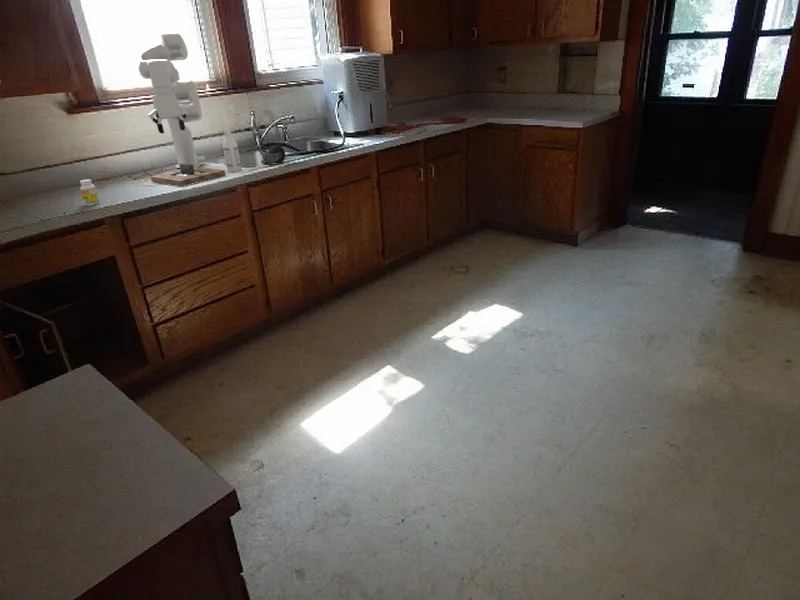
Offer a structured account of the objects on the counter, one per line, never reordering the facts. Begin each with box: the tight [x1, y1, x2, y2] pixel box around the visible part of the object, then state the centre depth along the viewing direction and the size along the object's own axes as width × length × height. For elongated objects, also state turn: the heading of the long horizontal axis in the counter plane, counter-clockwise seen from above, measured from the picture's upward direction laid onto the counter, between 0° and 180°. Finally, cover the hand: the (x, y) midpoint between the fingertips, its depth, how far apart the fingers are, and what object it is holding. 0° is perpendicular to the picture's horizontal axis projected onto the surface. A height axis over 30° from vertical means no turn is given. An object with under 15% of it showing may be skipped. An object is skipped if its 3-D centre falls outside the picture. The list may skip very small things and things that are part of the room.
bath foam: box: [222, 128, 243, 173], centre depth 258 cm, size 7×7×20 cm
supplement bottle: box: [79, 179, 101, 206], centre depth 213 cm, size 5×5×10 cm
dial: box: [176, 163, 200, 177], centre depth 249 cm, size 11×11×6 cm
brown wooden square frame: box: [150, 166, 227, 187], centre depth 250 cm, size 24×24×3 cm
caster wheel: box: [260, 144, 286, 166], centre depth 269 cm, size 6×10×15 cm
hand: (172, 131), depth 239 cm, fingers open, 9 cm apart
